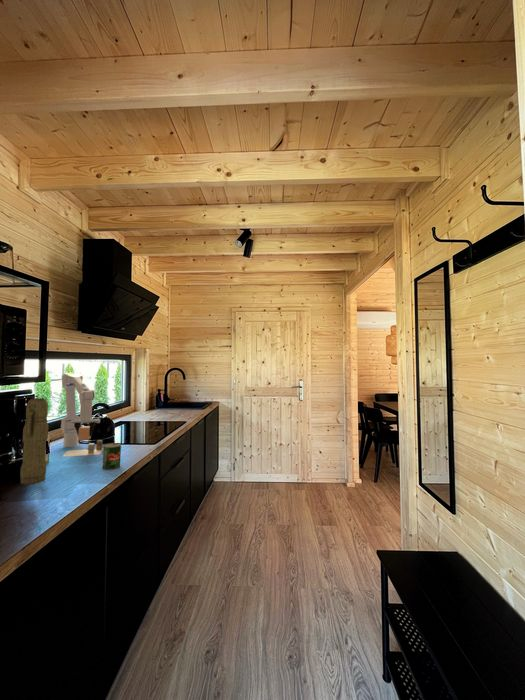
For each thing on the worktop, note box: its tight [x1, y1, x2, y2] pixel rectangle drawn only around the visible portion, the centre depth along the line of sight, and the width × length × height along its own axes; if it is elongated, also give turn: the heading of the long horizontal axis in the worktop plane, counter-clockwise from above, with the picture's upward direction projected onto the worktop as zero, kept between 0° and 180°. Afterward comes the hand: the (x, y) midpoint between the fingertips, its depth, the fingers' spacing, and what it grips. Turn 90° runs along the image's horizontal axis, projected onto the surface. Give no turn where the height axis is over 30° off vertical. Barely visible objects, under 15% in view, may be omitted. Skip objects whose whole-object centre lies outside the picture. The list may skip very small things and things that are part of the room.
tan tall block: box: [19, 397, 49, 486], centre depth 134 cm, size 9×12×35 cm
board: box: [62, 448, 103, 458], centre depth 174 cm, size 12×18×1 cm, turn 108°
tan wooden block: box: [78, 425, 92, 441], centre depth 175 cm, size 5×5×7 cm
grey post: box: [87, 442, 95, 454], centre depth 174 cm, size 3×3×5 cm
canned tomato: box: [102, 442, 122, 471], centre depth 153 cm, size 8×8×11 cm
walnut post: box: [95, 439, 104, 451], centre depth 181 cm, size 3×3×5 cm
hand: (84, 436), depth 175 cm, fingers closed on tan wooden block, 5 cm apart
